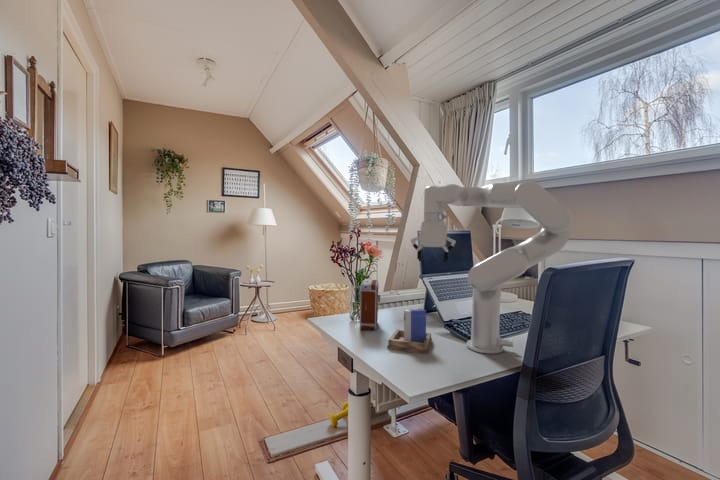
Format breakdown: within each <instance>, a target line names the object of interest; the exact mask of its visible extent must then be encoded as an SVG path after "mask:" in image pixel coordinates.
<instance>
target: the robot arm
mask: <svg viewBox="0 0 720 480" xmlns="http://www.w3.org/2000/svg"><path fill="white" fill-rule="evenodd" d="M423 197H424V198H423V199H424V200H423V221H421V226H420V233H419V235H418V236H415V237H414V238H411V240H410V243H411V245H412V247H413V248H414V249H415V250H416V251H417V255H416V256H417V257H416V259H417V260H418V262H422V261H423V251H422V249H423V248H424V247H425V248H426V247H428V248H442V249H443V250H444V252H443V263H444V264H446V263H447V261H449V252H450V251H451V250H452V249H453V248H454V247H455V245H456V243H457V241H456V240H455V239H452V238H450V237H449V236H448V235H447V225H446V221H444V220H445V219H446V220H447V219H448V215H446V214H445V211H444V208H445V205H446V204H447V205H452V206H455V207H456V206H457V207H484V208H500V209H501V208H504V209H505V208H506V209H507V208H510V209H523V210H524V211H525V212H526V213H527V214H528V215H529V216H530V217H531V218H532V219H533V220H535V221H536V223H538V224H539V225H540V226H541V227H542V228H541V230H540V231H539V232H537V233H536V234H534V235H532V236H531V237H529V238H527V239H526V240H524V241H522V242H520V243H518V244H516V245H514V246H510V247H508V248H505V249H502V250H501V251H499V252H497V253H495V254H494V255H492V256H490V257H488V258H486V259H485V260H483V261H481V262H479V263H476V264H475V265H473V266H472V267H471V268H470V269H469V270H468V274H467V281H468V284H469V286H470V287H471V288H472V297H471V298H472V302H471V303H472V304H471V332H470V339H468V340H467V341H466V347H467V348H468V349H470V350H471V351H474V352H477V353H482V354H489V355H490V354H491V355H495V354H500V353H502V352H504V347H508V348H509V347H510V348H514V341H511V340H509V339H503V338H502V337H500V315H501V313H500V312H501V295H502V294H501V291H502V285H505V284H506V283H508V282H510V281H512V280H514V279H516V278H518V277H520V276H521V275H523V274H524V273H525V272H526V271H527V270H528V269H529V268H531V267H533V266H535V265H537V264H539V263H541V262H542V261H545V260H546V259H548V258H550V257H552V256H554V255H555V254H557V253H558V252H560V251H561V250H562V249H563V248H564V247H565V245H566V244H567V243H568V241H569V239H570V237H571V234H572V222H573V215H572V213H571V211H569V209H568V208H567V207H565V205H563V204H562V203H561V202H559V200H558V199H556V198H555V197H554V196H553V195H552V194H551V193H549V192H548V191H547V190H546V189H545V188H544V187H543V185H541V184H540V183H538V182H536V181H533V180H526V181H522V182H520V183H517V182H516V183H515V182H514V183H510V182H509V183H503V182H502V183H501V182H500V183H490V184H488V185H484V186H473V187H472V186H468V187H467V186H460V185H458V184H454V183H453V184H452V183H450V184H444V185H428V186H426V187H425V189H424V196H423ZM417 241H419V245H418V244H417V243H416V242H417ZM447 241H448V242H449V243H451V244H450V245H449V246H447Z"/></svg>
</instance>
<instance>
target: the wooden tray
mask: <svg viewBox="0 0 720 480" xmlns="http://www.w3.org/2000/svg"><path fill="white" fill-rule="evenodd" d="M432 343H433V338H432V332H426V338H425V340H424V342H411V341H404V329H399V328H397V329H396V330H395V331H394V332H393V333H392V334H391V336H390V337H389V338H388V344H387V345H386V346H387V347H386V348H387V349H388V350H394V351H401V352H410V353H417V354H424V355H427V354H428V351H429V350H430V347H431V344H432Z"/></svg>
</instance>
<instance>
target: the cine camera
mask: <svg viewBox="0 0 720 480" xmlns="http://www.w3.org/2000/svg"><path fill="white" fill-rule="evenodd" d="M379 288H380V287H379V280H378V279H377V280H376V279H373V278H365V279H363V280H362V282H361V284H360V290H359V329H360V330H363V331H364V330H365V331H375V330H377V326H378V318H379V317H378V314H379V304H380V303H381V294H379Z"/></svg>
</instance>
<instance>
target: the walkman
mask: <svg viewBox="0 0 720 480" xmlns="http://www.w3.org/2000/svg"><path fill="white" fill-rule="evenodd" d="M403 330H404V341H411V342H424V340H425V338H426V333H427V310H425V309H422V308H418V309H404V310H403Z"/></svg>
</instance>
